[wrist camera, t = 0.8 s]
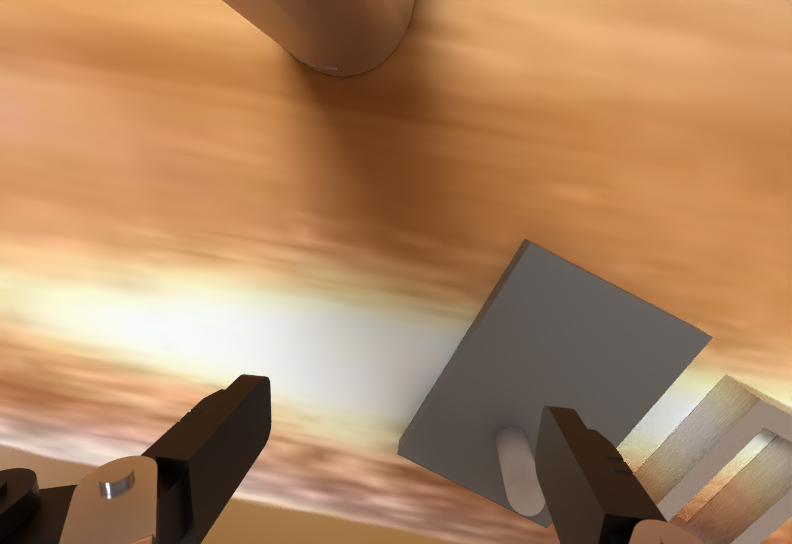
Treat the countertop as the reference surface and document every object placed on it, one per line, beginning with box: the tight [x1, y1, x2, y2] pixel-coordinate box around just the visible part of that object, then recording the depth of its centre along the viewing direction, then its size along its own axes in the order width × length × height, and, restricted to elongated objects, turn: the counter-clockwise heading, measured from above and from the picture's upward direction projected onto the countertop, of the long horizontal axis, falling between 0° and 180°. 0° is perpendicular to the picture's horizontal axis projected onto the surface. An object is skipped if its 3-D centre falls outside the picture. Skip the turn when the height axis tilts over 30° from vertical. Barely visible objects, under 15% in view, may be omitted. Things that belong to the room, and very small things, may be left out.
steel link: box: [634, 375, 792, 544], centre depth 28 cm, size 14×8×3 cm, turn 154°
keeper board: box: [397, 239, 713, 528], centre depth 25 cm, size 20×14×8 cm
